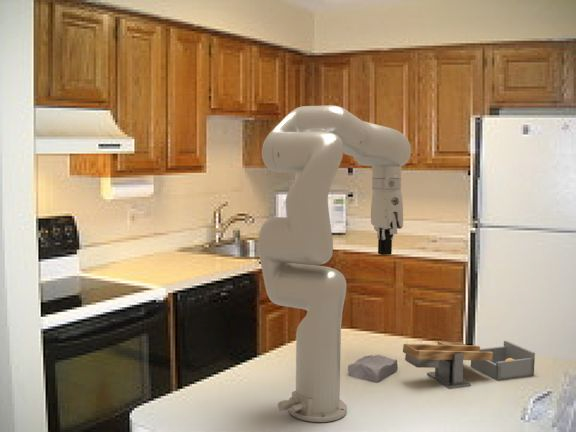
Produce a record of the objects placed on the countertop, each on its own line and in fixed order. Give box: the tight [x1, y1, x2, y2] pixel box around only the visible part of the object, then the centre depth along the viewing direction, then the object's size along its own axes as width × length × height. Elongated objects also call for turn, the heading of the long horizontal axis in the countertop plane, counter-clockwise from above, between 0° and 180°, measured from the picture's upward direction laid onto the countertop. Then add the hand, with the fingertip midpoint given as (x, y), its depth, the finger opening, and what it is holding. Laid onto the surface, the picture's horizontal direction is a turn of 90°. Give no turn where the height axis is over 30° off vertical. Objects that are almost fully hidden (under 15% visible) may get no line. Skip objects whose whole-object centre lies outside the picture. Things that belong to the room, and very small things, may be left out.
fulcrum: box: [426, 344, 472, 390], centre depth 155 cm, size 6×10×8 cm, turn 19°
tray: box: [470, 340, 536, 382], centre depth 162 cm, size 11×11×6 cm
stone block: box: [347, 354, 399, 383], centre depth 160 cm, size 12×5×10 cm
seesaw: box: [402, 340, 493, 369], centre depth 158 cm, size 22×14×4 cm, turn 110°
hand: (384, 254), depth 167 cm, fingers closed
